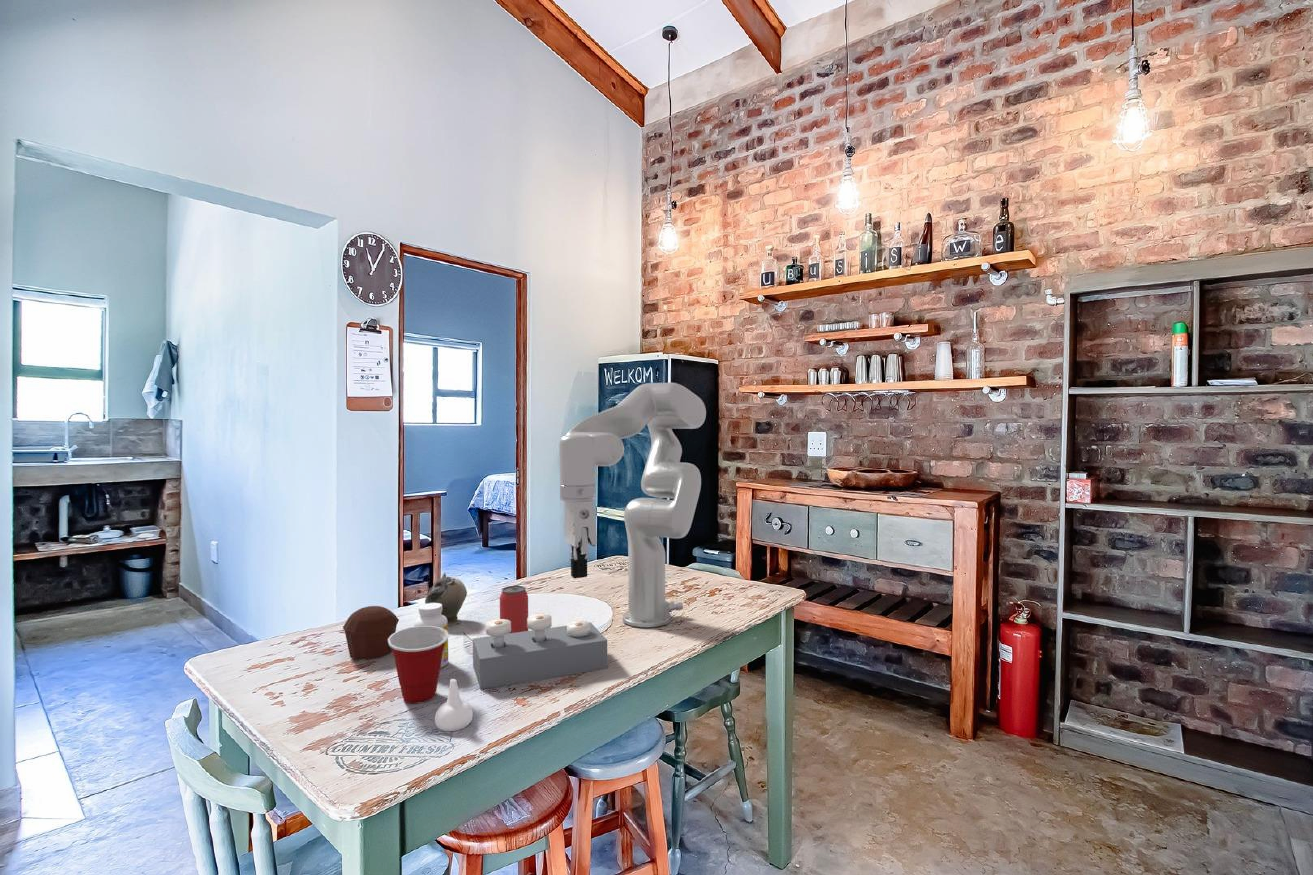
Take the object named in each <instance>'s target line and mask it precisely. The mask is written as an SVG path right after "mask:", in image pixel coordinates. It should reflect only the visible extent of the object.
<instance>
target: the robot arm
mask: <svg viewBox="0 0 1313 875" xmlns="http://www.w3.org/2000/svg"><path fill="white" fill-rule="evenodd" d="M706 416H707V409H706V405H705V403H704V401H703V400H702V398H701V397H699V396H698V395H696V394H695V393H694V392H692V391H691V389H688V388H687V387H685V386H684V385H682V384H680V383H677V382H648V383H642V384H640V385H638V386H637V387H636V388H634V389H633V390H632V391H631V392H630V393H629V394H627V396H625V397H624V398H623V399H622V400H621V401H620V402H619V403H618V404H617V405H615V406H612V407H610V408H607V409H604V410H603V411H601V412H598V413H596V414H592V415H591V416H588V417H586V418H585V419H583V420H581V421H579V422H577V424H576V425H574V426H573V427H572V428H571V429H570V430H569V431H567V433H566V435H563V436H562V437H561V438H560V439H559V443H558V444H559V445H558V446H559V451H558V452H559V454H558V455H559V494H560V495H559V499H560V501H562V502H563V536H564V539H565V541H566V542H567V543H568V544H569V548H570V550H569V551H570V577H571V578H573V579H581V578H587V577H588V554H589V545H590V546H592V547H596V546H597V544H598V538H597V522H596V521H597V518H596V510H595V503H594V501H595V500H596V499H597V498H596V466H597V467H610V466H614V465H616V464H617V463H619V462H620V460H621V459H622V457H623V456H624V453H625V452H624V451H625V447H624V442H623V439H627V438H631V437H633V436H636V435H638V434H639V433H640V432H642V430H643V429H644V428H645V427H646V426H647V429H648V431H649V435H650V441H651V442H650V444H651V446H650V449H649V454H648V456H647V458H646V459H647V460H646V462H645V466H644V470H643V473H642V476H641V480H640V486H641V488H640V489H641V490H642V492H643V493H644V494H645V495H646V496H650V497H637V498H634V499H632V500H630V501H629V502H628V504H627V505H626V506H625V509H624V514H623V515H624V516H623V520H624V525H625V529H626V536H627V537H626V538H627V551H628V552H627V553H628V555H627V556H628V557H627V558H628V560H627V561H628V563H627V564H628V610H627V611H626V612H624V613H623V614H622V621H623V623H625V624H627V625H629V626H631V627H636V628H637V627H638V628H656V627H661V626H664V625H667V624H669V623H670V622H671V621H672V614H671V613H672V612H673V611H681V610H683V609H684V605H683V602H674V601H673V600H672V601H667V600H666V550H665V547H664V545H663V542H662V541H661V539H660V538H668V539H682V538H685V537H686V536H687V535H688V533H689V531H690V529H691V528H692V524H693V520H694V516H695V512H696V508H697V504H698V501H699V497H700V493H701V487H702V476H701V472H700V469H699V468H698V467H697V466H696V465H695V464H693V463H689V462H681V457H682V454H683V448H682V444H681V443H680V440H679V439H678V437H677V435H675V433H674V432H673V429H675V430H676V429H680V430H683V429H685V430H687V429H689V430H693V429H699V428H700V427H702V425H703V424H704V423H705V420H706V418H707V417H706ZM652 497H654V498H652Z"/></svg>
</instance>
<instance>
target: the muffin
mask: <svg viewBox="0 0 1313 875" xmlns="http://www.w3.org/2000/svg"><path fill="white" fill-rule="evenodd" d="M398 622H400V619H399V618H398V616H397V615H396V614H395V613H394V612H393V611H391V610H390V609H389V608H387V607H384V606H380V605H370V606H365V607H361V608H359V609H357V610H356V611H354V612H352V613H351V614H350V616H349V617H348V618H347V620H346V621H345V623H344V624H343V626H342V629H343V630H344V634H345V639H346V643H347V649H348V653H349V654H348V655H349V657H351V658H353V659H354V660H365V661H369V660H372V659H380V658H382V657H384V656H387V655H390V654H391V653H392V649H391V647H390V646H389V643H388V638H389V637H390V636H391V635H392V634H394V633H395V632H397V625H398Z"/></svg>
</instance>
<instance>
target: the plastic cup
mask: <svg viewBox="0 0 1313 875" xmlns="http://www.w3.org/2000/svg"><path fill="white" fill-rule="evenodd" d="M449 636H450V634H449V631H448V632H447V631H446V630H444V629H443V628H440V627H435V626H416V627H414V626H409V627H405V628H403V629H400V630H396V632H395V633H394V634H392V635H391V636H390V637H389V638H388V643H389V646H390V647H391V649H392V651H391V653H392V656H393V659H394V663H395V669H396V674H397V679H398V683H399V686H400V692H401V697H402V699H403V701H404V702H405V703H407V704H422V703H425V702H428V701H431V700H433V698H435V696H436V693H437V688H438V681H439V678H440V673H441V672H440V671H441V668H440V667H441V660H442V654H443V650H444V646H445V642H446V641H447V639H448V640H449Z"/></svg>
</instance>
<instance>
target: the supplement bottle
mask: <svg viewBox="0 0 1313 875" xmlns="http://www.w3.org/2000/svg"><path fill="white" fill-rule="evenodd" d="M441 612H442V604H440V603H428V604H425V603H424V604H421V605H420V606H419V607H418V614H419V617H418V618H417V619H416V620H415V621H414V626H413V627H416V626H435V627H440V628H443V629H444V630H446V631H447V632H448V633H449V630H448V628H449V626H448V622H447V618H446V617H445V616H444V615H442V614H441ZM448 663H449V638H448V639H447V641H446V642H445V646H444V650H443V654H442V660H441V667H440V669H441V668H444V667H445V666H446V665H448Z"/></svg>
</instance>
